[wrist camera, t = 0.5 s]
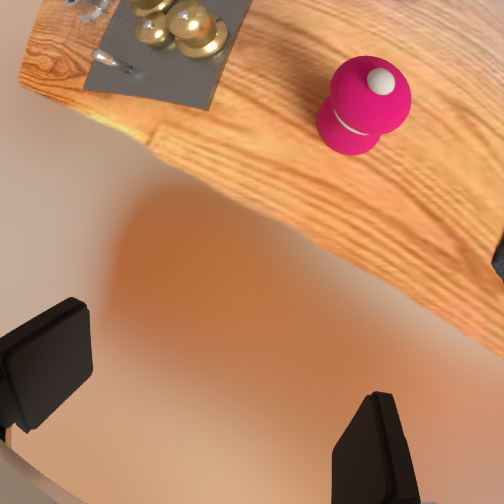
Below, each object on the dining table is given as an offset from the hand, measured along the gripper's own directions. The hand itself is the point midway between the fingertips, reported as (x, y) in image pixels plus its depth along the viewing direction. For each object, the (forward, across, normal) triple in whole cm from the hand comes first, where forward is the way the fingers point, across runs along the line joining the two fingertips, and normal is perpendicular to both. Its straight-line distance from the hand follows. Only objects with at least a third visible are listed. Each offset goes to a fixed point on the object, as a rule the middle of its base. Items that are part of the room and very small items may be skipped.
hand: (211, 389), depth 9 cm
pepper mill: (+30, -4, -14) cm, 34 cm away
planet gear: (+30, +39, -31) cm, 59 cm away
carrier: (+30, +23, -24) cm, 45 cm away
